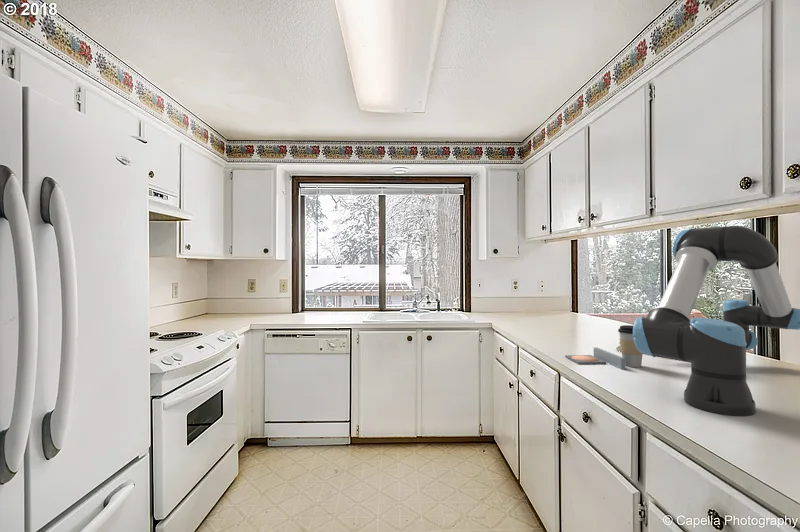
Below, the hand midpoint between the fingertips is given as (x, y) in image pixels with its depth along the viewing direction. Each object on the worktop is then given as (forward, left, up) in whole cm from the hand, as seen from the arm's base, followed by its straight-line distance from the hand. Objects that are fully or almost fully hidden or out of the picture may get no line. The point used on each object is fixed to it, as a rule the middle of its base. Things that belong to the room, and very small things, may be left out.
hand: (657, 341), depth 149 cm
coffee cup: (0, +10, -9) cm, 14 cm away
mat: (+9, +24, -9) cm, 27 cm away
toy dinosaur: (+31, -6, -10) cm, 33 cm away
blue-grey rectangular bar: (+5, +16, -9) cm, 19 cm away
